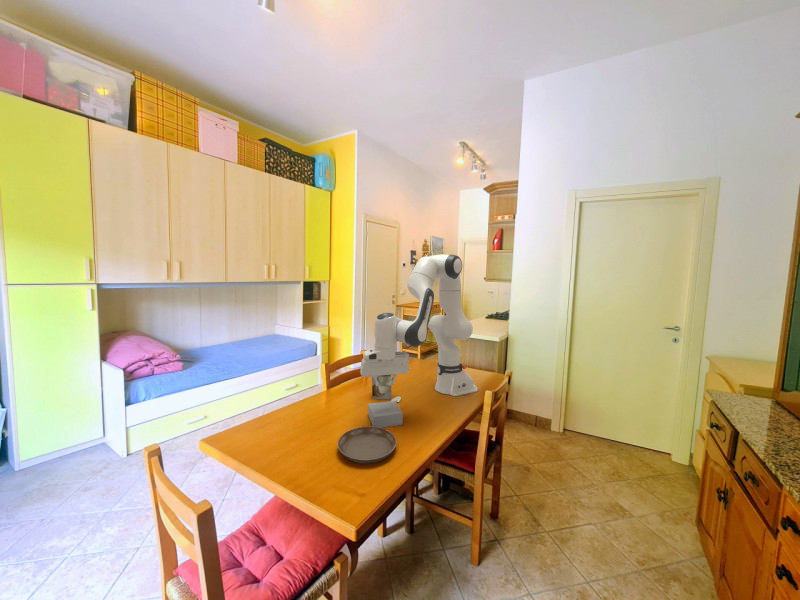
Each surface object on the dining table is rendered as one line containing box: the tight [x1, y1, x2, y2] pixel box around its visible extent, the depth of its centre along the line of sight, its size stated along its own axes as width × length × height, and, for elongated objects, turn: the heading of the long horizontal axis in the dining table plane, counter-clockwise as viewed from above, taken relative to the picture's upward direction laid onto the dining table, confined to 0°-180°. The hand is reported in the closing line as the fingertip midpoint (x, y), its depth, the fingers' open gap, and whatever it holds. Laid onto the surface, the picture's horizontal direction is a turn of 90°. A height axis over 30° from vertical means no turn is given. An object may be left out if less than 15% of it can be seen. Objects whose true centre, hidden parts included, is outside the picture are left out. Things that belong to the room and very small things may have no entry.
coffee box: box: [371, 376, 393, 400], centre depth 154 cm, size 9×6×16 cm
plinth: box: [367, 400, 404, 429], centre depth 132 cm, size 12×12×5 cm
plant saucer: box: [337, 426, 397, 464], centre depth 111 cm, size 21×21×3 cm
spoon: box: [390, 396, 402, 403], centre depth 145 cm, size 4×21×2 cm, turn 146°
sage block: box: [378, 375, 393, 394], centre depth 130 cm, size 4×4×7 cm
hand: (384, 384), depth 130 cm, fingers closed on sage block, 4 cm apart
